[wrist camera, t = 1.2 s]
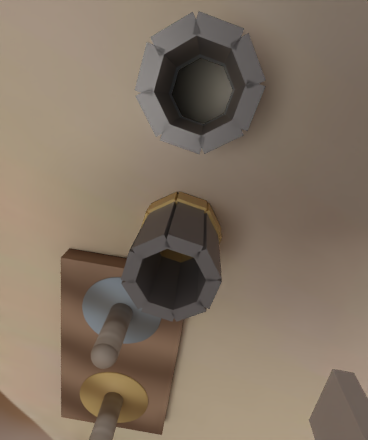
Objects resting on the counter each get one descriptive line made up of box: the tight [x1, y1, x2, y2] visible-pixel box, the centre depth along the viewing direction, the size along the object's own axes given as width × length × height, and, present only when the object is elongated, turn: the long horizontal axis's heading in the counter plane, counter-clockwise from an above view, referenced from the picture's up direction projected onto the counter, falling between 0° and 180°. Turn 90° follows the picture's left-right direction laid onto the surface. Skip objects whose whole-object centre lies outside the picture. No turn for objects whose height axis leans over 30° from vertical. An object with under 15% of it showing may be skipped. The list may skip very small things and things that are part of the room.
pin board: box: [61, 249, 184, 440], centre depth 24 cm, size 18×10×7 cm, turn 171°
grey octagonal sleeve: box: [135, 11, 266, 154], centre depth 16 cm, size 6×6×7 cm
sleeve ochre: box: [121, 192, 222, 322], centre depth 20 cm, size 6×6×7 cm
